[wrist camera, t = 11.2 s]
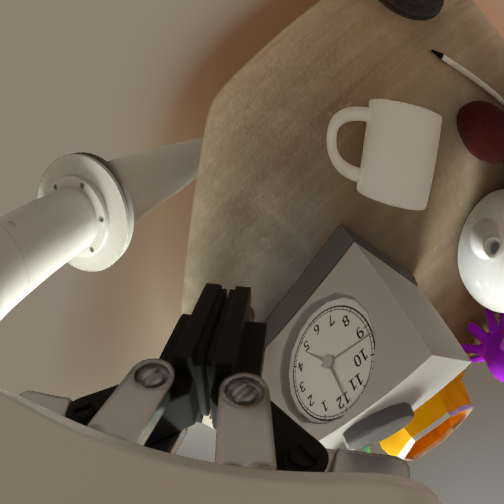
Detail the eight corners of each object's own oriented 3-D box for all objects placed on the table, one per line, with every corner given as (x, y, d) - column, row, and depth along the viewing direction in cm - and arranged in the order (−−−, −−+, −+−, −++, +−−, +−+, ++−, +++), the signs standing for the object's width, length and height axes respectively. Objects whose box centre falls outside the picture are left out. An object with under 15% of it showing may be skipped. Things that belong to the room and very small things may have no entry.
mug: (423, 117, 28) (456, 118, 21) (409, 195, 32) (437, 216, 25) (326, 94, 29) (338, 85, 22) (316, 178, 33) (323, 194, 26)
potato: (453, 88, 25) (480, 86, 20) (506, 124, 25) (534, 129, 20) (440, 140, 28) (466, 145, 23) (494, 171, 28) (521, 182, 23)
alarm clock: (340, 223, 35) (385, 334, 16) (424, 284, 37) (486, 392, 18) (254, 334, 43) (231, 455, 25) (336, 373, 45) (344, 482, 27)
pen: (526, 128, 24) (531, 129, 23) (427, 52, 24) (431, 51, 23) (527, 123, 24) (532, 123, 23) (429, 47, 24) (433, 45, 23)
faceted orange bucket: (508, 360, 29) (451, 309, 44) (371, 464, 30) (331, 388, 44) (494, 400, 35) (450, 353, 50) (380, 482, 35) (347, 420, 50)
